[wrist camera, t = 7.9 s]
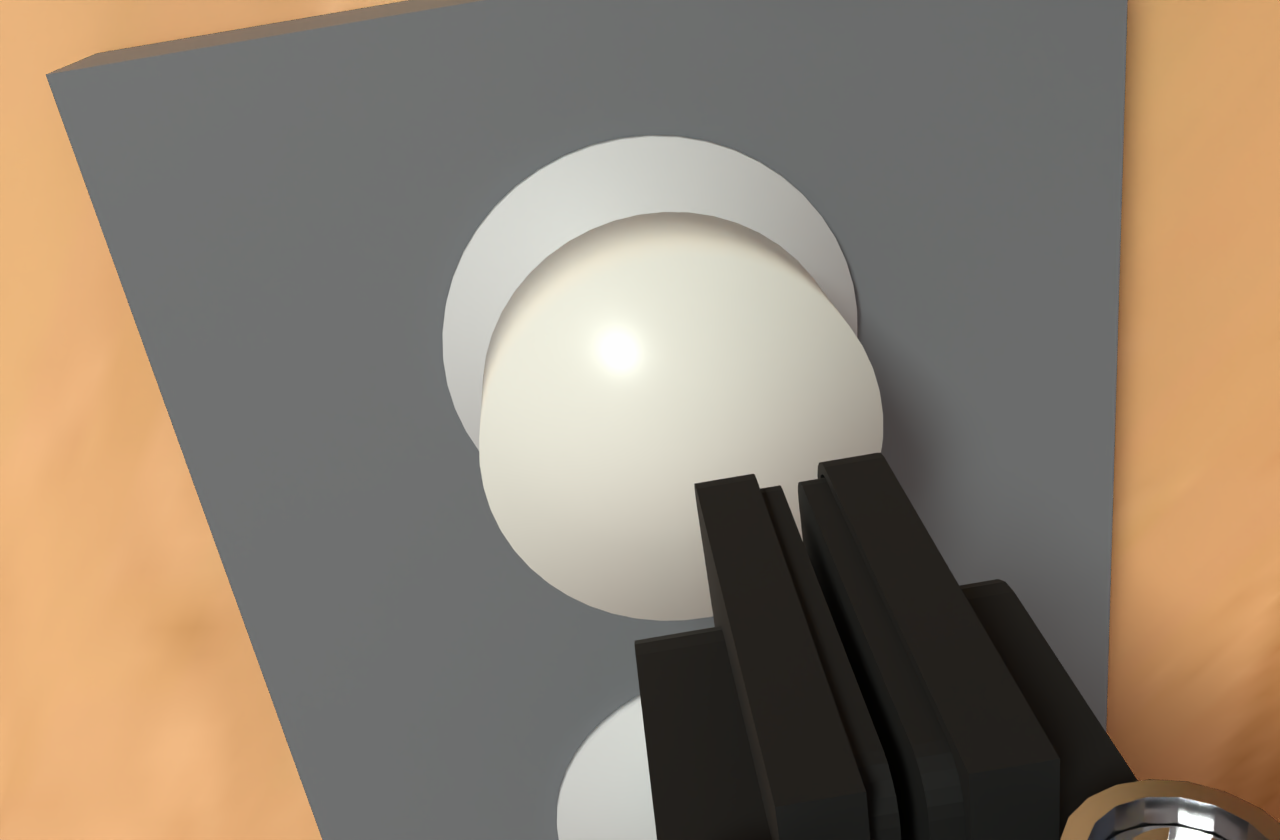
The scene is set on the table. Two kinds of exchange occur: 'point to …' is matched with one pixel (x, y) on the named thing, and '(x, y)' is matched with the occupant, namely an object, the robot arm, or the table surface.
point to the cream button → (660, 402)
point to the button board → (514, 246)
